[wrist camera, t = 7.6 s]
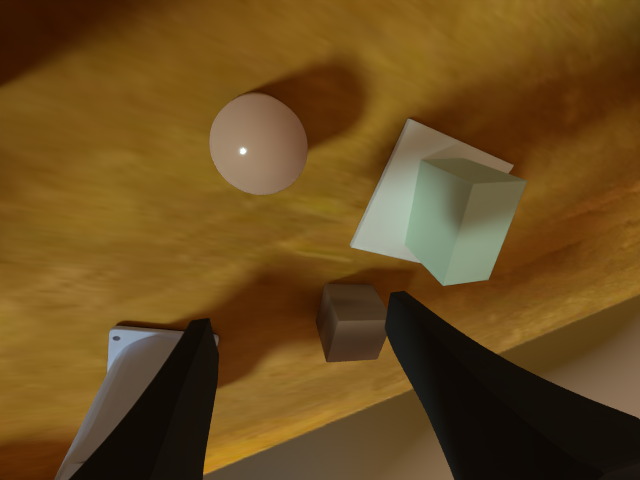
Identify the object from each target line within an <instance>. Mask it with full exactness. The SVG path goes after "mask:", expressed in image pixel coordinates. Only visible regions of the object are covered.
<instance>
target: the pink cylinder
mask: <svg viewBox="0 0 640 480" xmlns="http://www.w3.org/2000/svg"><path fill="white" fill-rule="evenodd" d="M209 140H210V152H211V156H212V159H213V161H214V164H215V166H216V168H217V169H218V171H219V172H220V174H221V175H222V176H223V177H224V178H225V179H226V180H227V181H228V182H229V183H230V184H232V185H233V186H235V187H236V188H238V189H240V190H242V191H245V192H248V193H252V194H259V195H265V194H272V193H276V192H279V191H281V190H283V189H285V188H287V187H288V186H289V185H291V184H292V183H293V182H294V181H295V180H296V179H297V178H298V176H299V175H300V174H301V172H302V170H303V168H304V166H305V163H306V159H307V153H308V144H307V137H306V133H305V130H304V128H303V126H302V124H301V122H300V120H299V119H298V117H297V116H296V115H295V113H294V112H293V111H292V110H291V109H290V108H288V107H287V106H286V105H285V104H283V103H282V102H280V101H279V100H277V99H276V98H274V97H273V96H271V95H269V94H266V93H262V92H247V93H244V94H241V95H239V96H237V97H236V98H234V99H233V100H232V101H231V102H230V103H228V104H227V105H226V106H225V107H224V108H223V109H222V110H221V111H220V112H219V114H218V115H217V117H216V118H215V120H214V122H213V125H212V128H211V132H210V139H209Z"/></svg>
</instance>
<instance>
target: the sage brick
mask: <svg viewBox="0 0 640 480" xmlns="http://www.w3.org/2000/svg"><path fill="white" fill-rule="evenodd" d="M526 183H527V180H524V179H522V178H519V177H516V176H513V175H510V174H508V173H505V172H502V171H499V170H496V169H493V168H491V167H488V166H485V165H482V164H479V163H477V162H474V161H471V160H468V159H465V158H452V159H428V160H420V165H419V171H418V176H417V181H416V186H415V192H414V197H413V202H412V208H411V213H410V218H409V223H408V229H407V234H406V239H405V244H404V245H405V246H406V247H407V248H408V249H409V250H410V251H411V252H412V253H413V254H414V255H415V256H416V258H417V259H418V260H419V261H420V262H421V263H422V264H423V265H424V266H425V267H426V268H427V269H428V270H429V271H430V272H431V274H432V275H433V276H434V277H435V278H436V279H437V280H438V281H439V282H440V283H441V284H442V285H443V286H446V285H453V284H461V283H468V282H475V281H482V280H489V277H490V275H491V272H492V269H493V267H494V264H495V262H496V259H497V257H498V254H499V252H500V249H501V247H502V244H503V242H504V239H505V236H506V234H507V231H508V229H509V226H510V224H511V221H512V219H513V216H514V214H515V211H516V209H517V206H518V203H519V201H520V198H521V196H522V193H523V191H524V188H525V186H526Z"/></svg>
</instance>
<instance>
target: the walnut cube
mask: <svg viewBox="0 0 640 480" xmlns="http://www.w3.org/2000/svg"><path fill="white" fill-rule="evenodd" d="M386 316H387V309H386V307H385V305H384V304H383V302H382V300H381V299H380V297H379V295H378V294H377V292H376V290H375V288H374V287H373V285H367V284H325V286H324V290H323V294H322V298H321V302H320V306H319V310H318V315H317V319H316V325H317V329H318V332H319V336H320V340H321V344H322V347H323V351H324V355H325V359H326V362H342V361H358V360H375V359H377V358H378V356H379V353H380V351H381V349H382V346H383V344H384V341H385V339H386V336H387V333H386V331H385V328H384V327H385V322H386Z"/></svg>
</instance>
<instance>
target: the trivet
mask: <svg viewBox="0 0 640 480" xmlns="http://www.w3.org/2000/svg"><path fill="white" fill-rule="evenodd" d="M452 158H465V159H468V160H471V161H474V162H477V163H479V164H482V165H485V166H488V167H491V168H493V169H496V170H499V171H502V172H505V173H508V174H509V172H510V171H511V169H512V168H513V166H514V165H512V164H510V163H508V162H505V161H503V160H501V159H499V158H496V157H494V156H492V155H490V154H488V153H485V152H483V151H481V150H479V149H476V148H474V147H472V146H470V145H467V144H465V143H463V142H461V141H459V140H456V139H454V138H452V137H450V136H447V135H445V134H443V133H441V132H438V131H436V130H434V129H432V128H429V127H427V126H425V125H423V124H421V123H418V122H416V121H414V120H412V119H407V122H406V124H405V126H404V128H403V130H402V132H401V135H400V137H399V139H398V141H397V143H396V146H395V148H394V150H393V152H392V154H391V156H390V159H389V161H388V163H387V165H386V167H385V169H384V172H383V174H382V176H381V178H380V180H379V182H378V185H377V187H376V189H375V191H374V193H373V196H372V198H371V200H370V202H369V204H368V206H367V209H366V211H365V213H364V215H363V217H362V219H361V222H360V224H359V226H358V228H357V230H356V232H355V235H354V237H353V239H352V241H351V243H350V246H351V247H352V248H356V249H361V250H365V251H369V252H374V253H378V254H383V255H387V256H391V257H396V258H400V259H405V260H409V261H413V262H418V263H421V262H420V261H419V260H418V259H417V258H416V256H415V255H414V254H413V253H412V252H411V251H410V250H409V249H408V248H407V247H406V246H405V245H404V244H405V239H406V234H407V229H408V223H409V218H410V213H411V208H412V202H413V197H414V192H415V186H416V181H417V176H418V171H419V165H420V160H428V159H452Z"/></svg>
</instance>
